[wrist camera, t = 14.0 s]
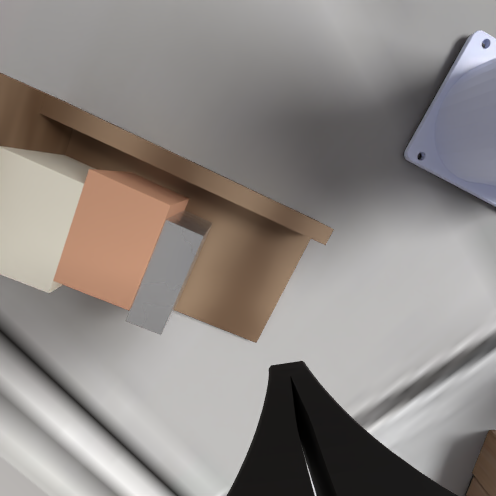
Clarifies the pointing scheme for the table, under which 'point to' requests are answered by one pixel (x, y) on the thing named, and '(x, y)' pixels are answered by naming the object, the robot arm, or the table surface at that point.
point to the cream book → (36, 213)
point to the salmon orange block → (115, 234)
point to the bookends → (485, 469)
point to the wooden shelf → (200, 204)
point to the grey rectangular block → (168, 270)
